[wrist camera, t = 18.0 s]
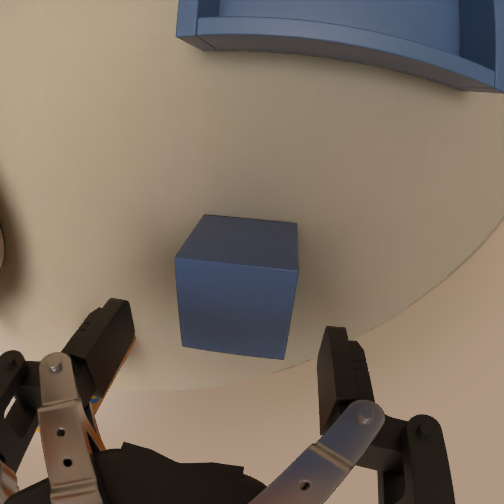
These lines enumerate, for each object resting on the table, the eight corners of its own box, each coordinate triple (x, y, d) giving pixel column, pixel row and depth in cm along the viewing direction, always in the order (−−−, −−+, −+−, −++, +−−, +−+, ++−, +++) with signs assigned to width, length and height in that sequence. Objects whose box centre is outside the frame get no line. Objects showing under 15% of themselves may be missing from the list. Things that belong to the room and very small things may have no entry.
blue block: (297, 223, 17) (298, 270, 12) (286, 300, 19) (283, 360, 15) (203, 214, 17) (173, 257, 13) (204, 291, 19) (181, 346, 15)
